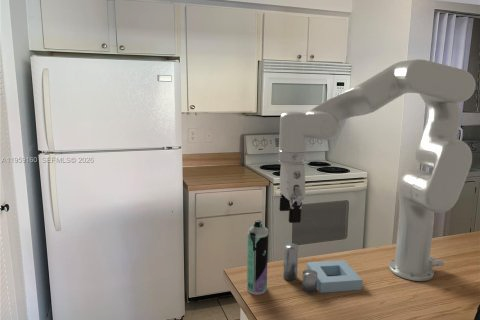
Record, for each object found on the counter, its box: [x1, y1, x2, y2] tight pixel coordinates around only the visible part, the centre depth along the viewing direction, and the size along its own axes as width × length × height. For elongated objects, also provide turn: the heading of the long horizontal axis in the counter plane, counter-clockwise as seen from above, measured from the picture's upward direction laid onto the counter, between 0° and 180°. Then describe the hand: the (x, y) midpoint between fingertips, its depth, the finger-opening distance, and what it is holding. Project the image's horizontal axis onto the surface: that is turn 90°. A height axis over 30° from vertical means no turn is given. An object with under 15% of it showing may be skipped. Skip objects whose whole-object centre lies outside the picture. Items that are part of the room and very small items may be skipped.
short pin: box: [301, 269, 318, 295], centre depth 102 cm, size 4×4×5 cm
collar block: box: [305, 259, 363, 294], centre depth 107 cm, size 12×12×3 cm
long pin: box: [282, 242, 299, 282], centre depth 108 cm, size 4×4×10 cm
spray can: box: [246, 220, 269, 296], centre depth 100 cm, size 6×6×20 cm
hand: (289, 216), depth 105 cm, fingers open, 9 cm apart
